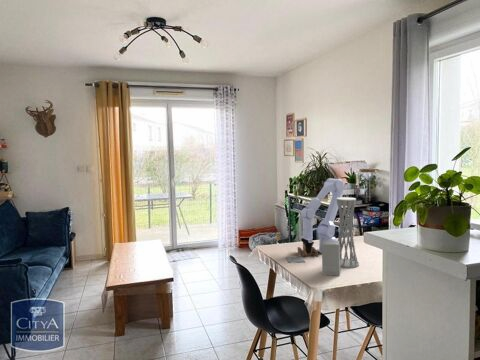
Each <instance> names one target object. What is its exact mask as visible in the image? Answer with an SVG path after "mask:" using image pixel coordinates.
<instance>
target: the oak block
mask: <svg viewBox="0 0 480 360" xmlns="http://www.w3.org/2000/svg"><path fill="white" fill-rule="evenodd" d="M302 250H303V252H304V257H305V256H306V257H308V256H313V254H312V249H311V253H306V247H305V244H304V243H303V242H302Z"/></svg>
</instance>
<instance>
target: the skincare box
mask: <svg viewBox="0 0 480 360" xmlns="http://www.w3.org/2000/svg"><path fill="white" fill-rule="evenodd" d="M321 263H322V264H321V265H322V268H321V269H322V276H323V275H324V276H337V277H338V276H340V274H341V267H340V244H339V241H338V240H336V241H323V242H322V253H321Z"/></svg>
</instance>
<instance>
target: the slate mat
mask: <svg viewBox="0 0 480 360" xmlns="http://www.w3.org/2000/svg"><path fill="white" fill-rule="evenodd" d="M285 259H286V260H287V262H288V263H290V264H292V263H291V262H296V263H306V261H305V259H304V257H301V256H286V257H285Z"/></svg>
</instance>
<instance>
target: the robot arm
mask: <svg viewBox="0 0 480 360" xmlns="http://www.w3.org/2000/svg"><path fill="white" fill-rule="evenodd" d="M344 188H345V183H344V180H342V179H341V178H332V177H329V178H327V179H326V181H324V183H323V187H322V188H321V190H320V191H319V192H318V194H317V196H316V197H313V198H311V199H310V202H309V203H308V204H307V205H305V207H304V208H302V209H301V212H300V216H301V221H302V235H300V240H301V242H302V244H303V243H304V244H305V247H306V253H311V249H312V247H314V243H315V242H314V241H313V238H314V237H313V225H314V224H313V221H314V218H315V216H316V212H317V210H318V209H319V208H320V206H321V205H322V201H323V200H324V198H325V197H326V196H327V195H329V193H331V194H332V196H331V198H330V199H331V200H330V203H329V204H328V208H327V211H326V214H325V217H324V219H323V220H321V221H320V222H319V224H318V226H317V228H316V233H317V234H318V237H319V241H318V242H319V246H318V248H317V249H316V250H317V251H318V252H319V253H320V254H322V242H323V241H337V239H336V236H335V230H336V225H335V223H334V221H335V219H336V216H337V213H338V211H339V209H338V204H337V198H340V197H344V196H343V195H344Z"/></svg>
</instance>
